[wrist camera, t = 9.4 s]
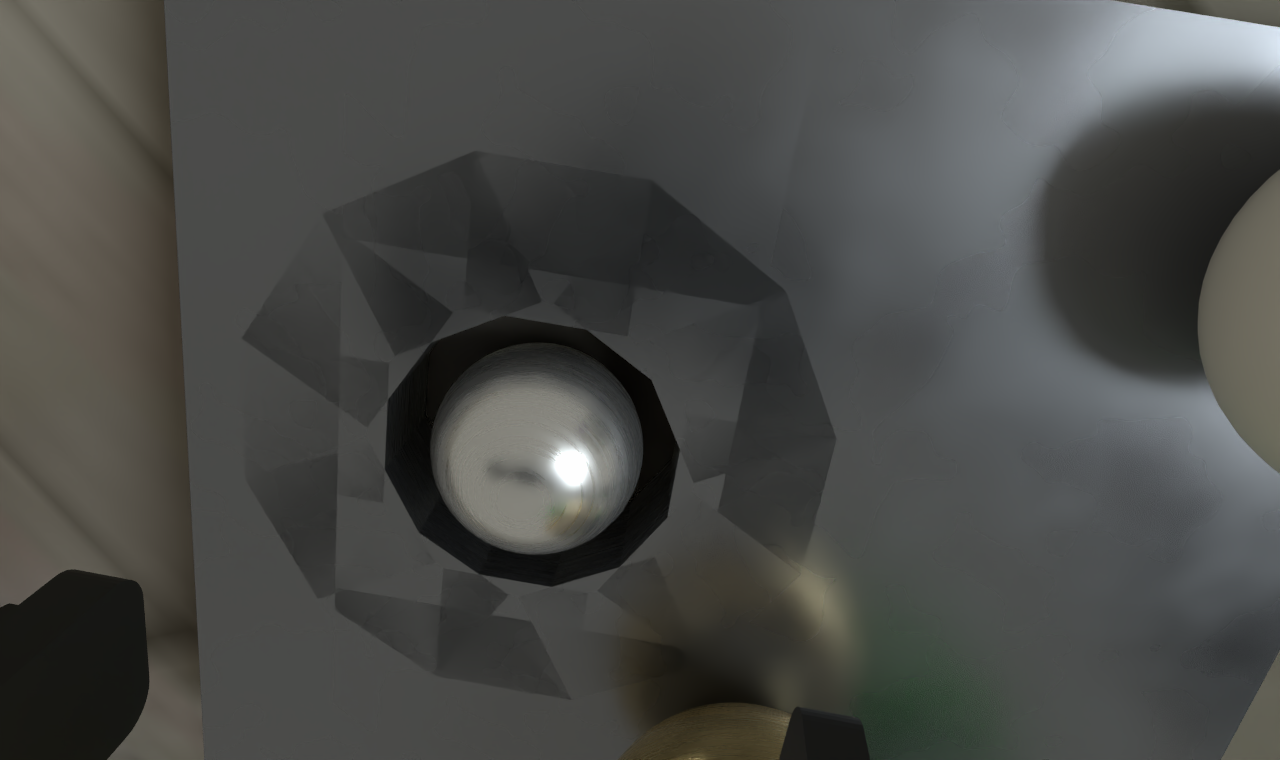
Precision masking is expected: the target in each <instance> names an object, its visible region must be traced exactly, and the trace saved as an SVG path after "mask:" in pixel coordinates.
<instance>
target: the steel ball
mask: <svg viewBox="0 0 1280 760" xmlns="http://www.w3.org/2000/svg"><path fill="white" fill-rule="evenodd" d="M430 456H431V464H432V471H433V475H434V479H435V482H436V485H437V487H438V490H439V492H440V494H441V496H442V498H443V501H444V502H445V504H446V505H447V507H448V509H449V510H450V512H451V513H452V514H453V515H454V517H455V518H456V519H457V520H458V521H459V522H460V523H461V524H462V525H463V526H464V527H465V528H466V529H467V530H469V531H470V532H471V533H473V534H474V535H475V536H477V537H478V538H480V539H481V540H483V541H485V542H486V543H489V544H491V545H493V546H495V547H498V548H500V549H503V550H506V551H511V552H515V553H521V554H551V553H557V552H561V551H565V550H569V549H571V548H574V547H577V546H579V545H581V544H583V543H585V542H587V541H589V540H591V539H593V538H594V537H595V536H597V535H598V534H600V533H601V532H602V531H604V530H605V529H606V528H607V527H608V526H609V525H610V524H611V523H612V522H613V521H614V520H615V519H616V518H617V517H618V516H619V514H620V513H621V512H622V511H623V509H624V508H625V506H626V504H627V503H628V501H629V499H630V498H631V496H632V494H633V492H634V490H635V487H636V485H637V482H638V478H639V475H640V471H641V467H642V459H643V434H642V429H641V424H640V420H639V417H638V414H637V411H636V408H635V405H634V403H633V401H632V399H631V397H630V395H629V394H628V392H627V391H626V389H625V388H624V386H623V385H622V383H621V382H620V381H619V380H618V379H617V378H616V377H615V376H614V375H613V373H612V372H611V371H609V370H608V369H607V368H606V367H605V366H604V365H602V364H601V363H600V362H598V361H597V360H595V359H594V358H592V357H591V356H589V355H587V354H585V353H583V352H581V351H578V350H576V349H573V348H570V347H567V346H563V345H558V344H552V343H524V344H518V345H513V346H509V347H506V348H502V349H500V350H497V351H495V352H493V353H491V354H489V355H487V356H485V357H483V358H482V359H480V360H479V361H477V362H475V363H474V364H473V365H471V366H470V367H469V368H468V369H467V370H465V371H464V372H463V373H462V375H461V376H460V377H459V378H458V379H457V380H456V381H455V382H454V383H453V384H452V386H451V387H450V389H449V390H448V392H447V393H446V395H445V397H444V399H443V401H442V403H441V405H440V407H439V409H438V411H437V414H436V417H435V420H434V424H433V429H432V435H431V442H430Z"/></svg>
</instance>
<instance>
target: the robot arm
mask: <svg viewBox="0 0 1280 760" xmlns="http://www.w3.org/2000/svg"><path fill="white" fill-rule="evenodd" d="M148 690H149V667H148V653H147V640H146V627H145V613H144V600H143V592H142V590H141V587H140V586H139V584H138V583H137V582H135V581H133V580H128V579H123V578H117V577H112V576H107V575H101V574H96V573H91V572H85V571H80V570H67V571H64V572H62V573H60V574H58V575H57V576H55V577H54V578H53V579H51V580H50V581H49V582H48V583H46V584H45V585H44V586H42V587H41V588H40V589H39V590H37V591H36V592H35V593H34V594H32V595H31V596H30V597H28V598H27V599H26V600H25V601H23V602H22V603H21V604H19V605H15V604H10V603H9V604H7V605H5V606H3V607H0V760H107V759H108V758H109V757H110V755H111V754H112V753H113V752H114V751H115V750H116V748H117V747H118V746H119V745H120V744H121V743H122V742H123V740H124V739H125V738H126V737H127V736H128V734H129V733H130V732H131V730H132V729H133V727H134V726H135V724H136V723H137V721H138V719H139V717H140V715H141V713H142V710H143V708H144V705H145V702H146V699H147V695H148ZM779 760H870V757H869V752H868V747H867V742H866V737H865V732H864V728H863V725H862V722H861V720H860V719H859V718H857V717H852V716H846V715H841V714H836V713H830V712H825V711H819V710H814V709H809V708H803V707H796V708H795V709H794V710H793V712H792V715H791V718H790V721H789V725H788V728H787V732H786V736H785V739H784V743H783V746H782V750H781V754H780V757H779Z"/></svg>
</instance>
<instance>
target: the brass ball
mask: <svg viewBox="0 0 1280 760" xmlns="http://www.w3.org/2000/svg"><path fill="white" fill-rule="evenodd" d="M791 715H792V714H790V713H787V712H784V711H781V710H778V709H775V708H771V707H766V706H762V705H757V704H749V703H717V704H710V705H705V706H700V707H695V708H692V709H689V710H686V711H682V712H680V713H678V714H676V715H673V716H671V717H669V718H667V719H665V720H664V721H662V722H660V723H659V724H657V725H655V726H654V727H652V728H651V729H649V730H648V731H647V732H645V733H644V734H643V735H642V736H640V737H639V738H638V739H637V740H635V742H634V743H633V744H632V745H631V746H630V747H629V748H628V749H627V750H626V751H625V752H624V753H623V754H622V755H621V756H620V757H619V759H618V760H779V757H780V754H781V750H782V746H783V743H784V739H785V736H786V732H787V728H788V725H789V721H790V718H791Z"/></svg>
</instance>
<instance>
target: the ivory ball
mask: <svg viewBox="0 0 1280 760" xmlns="http://www.w3.org/2000/svg"><path fill="white" fill-rule="evenodd" d="M1198 340H1199V351H1200V356H1201V360H1202V364H1203V368H1204V372H1205V375H1206V378H1207V380H1208V383H1209V386H1210V388H1211V390H1212V392H1213V395H1214V397H1215V399H1216V401H1217V403H1218V406H1219V407H1220V408H1221V410H1222V411H1223V413H1224V414H1225V416H1226V417H1227V419H1228V420H1229V422H1230V423H1231V425H1232V426H1233V428H1234V429H1235V430H1236V432H1237V433H1238V435H1239V436H1240V437H1241V438H1242V439H1243V440H1244V441H1245V442H1246V444H1247V445H1248V446H1249V447H1250V448H1251V449H1252V450H1253V451H1254V452H1255V453H1256V454H1257V455H1258V456H1259V457H1260V458H1262V459H1263V460H1264V461H1265V462H1266V463H1267V464H1268V465H1269V466H1270V467H1272V468H1273V469H1274V470H1276V471H1277V472H1278V473H1280V170H1278V171H1277V172H1276V173H1275V174H1274V175H1272V176H1271V177H1270V178H1269V179H1268V180H1267V181H1266V182H1265V183H1264V184H1263V185H1262V186H1261V187H1260V188H1259V189H1258V190H1257V191H1256V192H1255V193H1254V194H1253V195H1252V196H1251V197H1250V198H1249V199H1248V201H1247V202H1246V203H1245V204H1244V206H1243V207H1242V208H1241V209H1240V211H1239V212H1238V213H1237V214H1236V215H1235V217H1234V218H1233V220H1232V221H1231V223H1230V224H1229V226H1228V228H1227V229H1226V231H1225V232H1224V234H1223V235H1222V237H1221V239H1220V241H1219V243H1218V245H1217V247H1216V249H1215V251H1214V253H1213V255H1212V257H1211V259H1210V262H1209V265H1208V268H1207V271H1206V274H1205V277H1204V280H1203V284H1202V289H1201V294H1200V299H1199V308H1198Z"/></svg>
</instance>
